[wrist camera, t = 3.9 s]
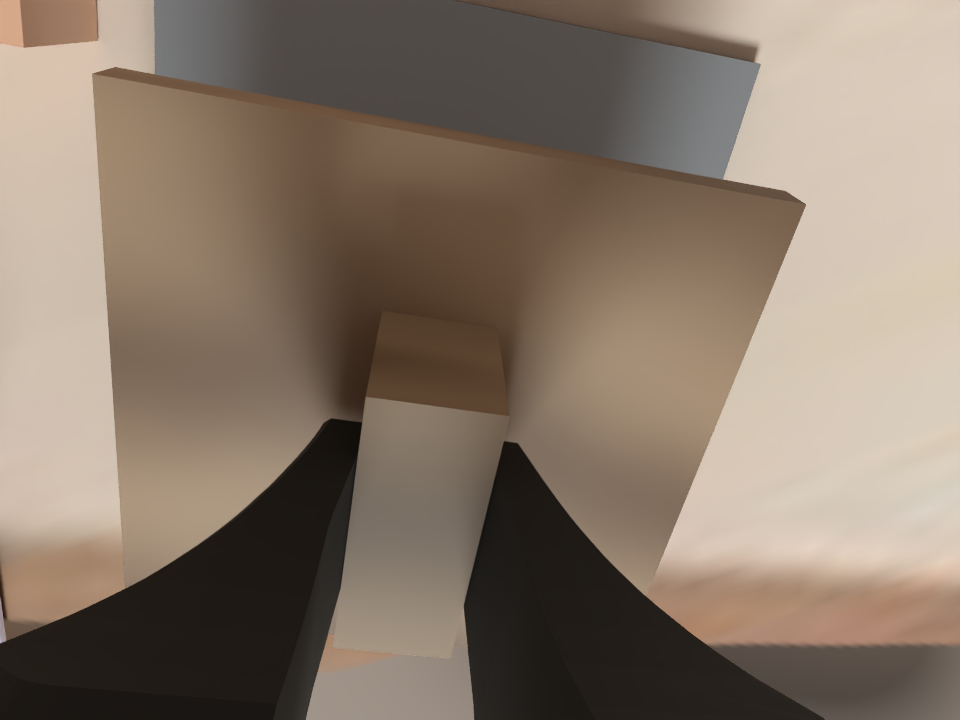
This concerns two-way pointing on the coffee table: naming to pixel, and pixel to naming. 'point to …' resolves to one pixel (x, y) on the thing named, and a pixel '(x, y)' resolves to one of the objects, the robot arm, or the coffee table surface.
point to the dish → (47, 22)
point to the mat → (469, 73)
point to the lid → (410, 331)
